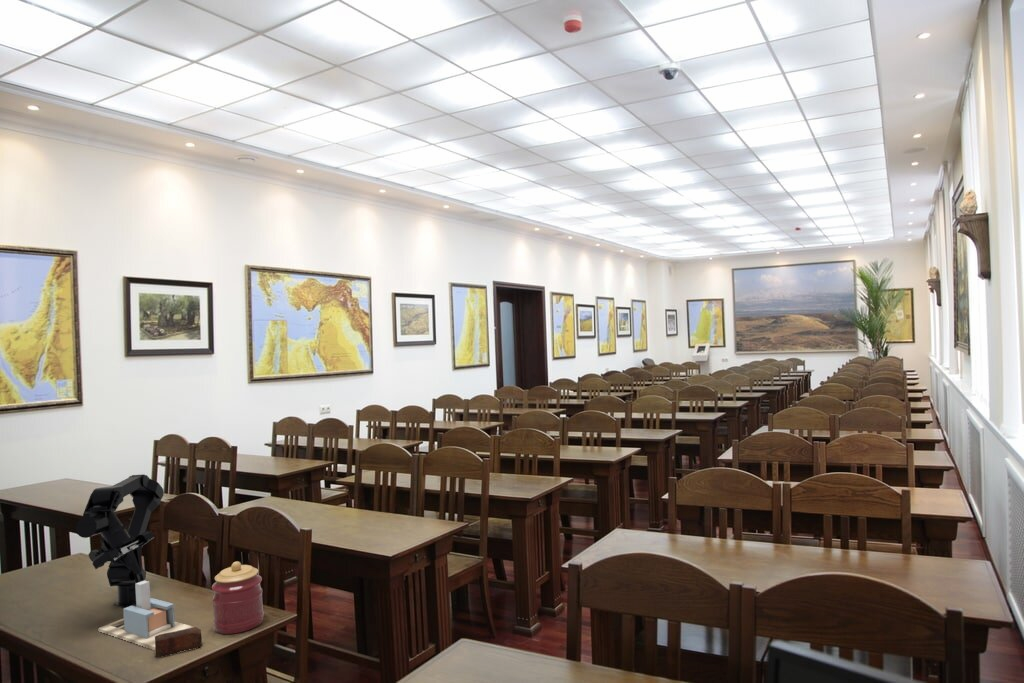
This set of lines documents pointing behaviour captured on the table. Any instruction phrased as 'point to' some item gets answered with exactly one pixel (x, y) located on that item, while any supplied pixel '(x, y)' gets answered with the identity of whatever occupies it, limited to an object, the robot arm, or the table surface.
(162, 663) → the table surface
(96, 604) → the table surface
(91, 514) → the robot arm
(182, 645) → the brick
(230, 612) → the canister
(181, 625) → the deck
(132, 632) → the light blue blocks
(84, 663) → the table surface
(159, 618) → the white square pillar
